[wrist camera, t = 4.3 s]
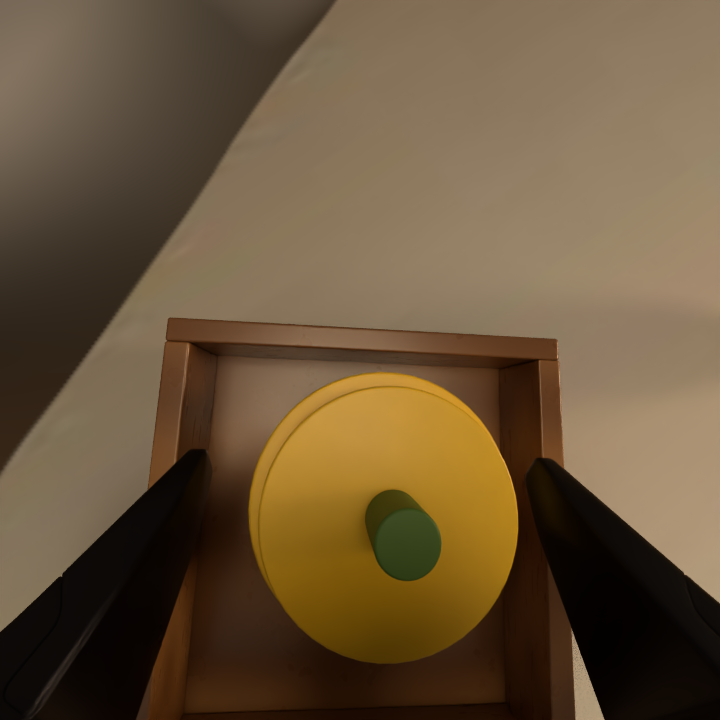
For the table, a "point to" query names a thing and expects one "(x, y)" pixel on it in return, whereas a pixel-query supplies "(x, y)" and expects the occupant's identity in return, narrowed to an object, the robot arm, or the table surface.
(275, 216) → the table surface
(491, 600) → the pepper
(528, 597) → the wooden tray
